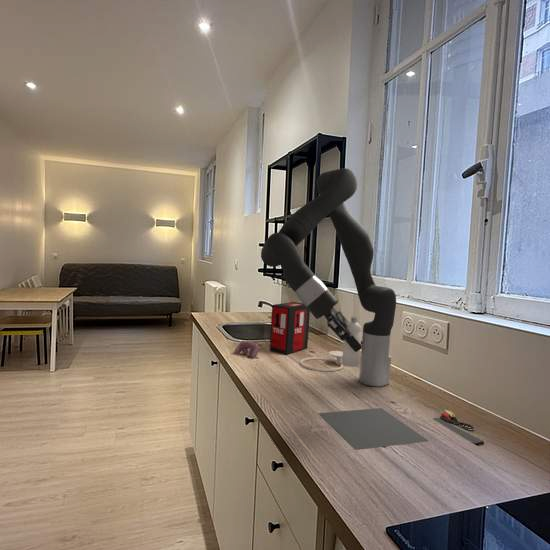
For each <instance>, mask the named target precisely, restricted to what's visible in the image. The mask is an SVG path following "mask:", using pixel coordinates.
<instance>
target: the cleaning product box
mask: <svg viewBox="0 0 550 550" xmlns="http://www.w3.org/2000/svg"><path fill="white" fill-rule="evenodd" d="M310 314H311V312H310V311H309V310H308V309H307V307H306V306H305V305H304V304H303V303H302V302H297V301H291V302H284V303H277V304H272V306H271V322H270V334H269V336H270V338H269V339H270V340H269V352H271V353H276V354H279V355H285V356H289V355H292V354H296V353H298V352H301V351H304V350H307V349H308V346H309V345H308V344H309V328H310Z"/></svg>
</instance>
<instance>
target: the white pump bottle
mask: <svg viewBox="0 0 550 550" xmlns="http://www.w3.org/2000/svg"><path fill="white" fill-rule="evenodd" d="M357 321H358V317H356V316H350V322H349V321H348V322H349V323H347V325H348V330H349V331H350V332H351V333H352V335H353V336H354V337H355V339H356V340H357V341H358V342H359V343H360V344H361V341H362V336H363V327H362V326H361V324H360V323H358V322H357ZM344 333H345V332H344ZM344 333H343V334H344ZM342 346H343V347H342V352H343V356H342V358H341V363H342V364H343V366H346V367H351V368H352V367H353V368H357V367H360V361H361V349H360V350H359V351H357V352H355V351H354V350H353V349H352V348H351V347H350V345H349V344H348V343H347V342H346V341H343V344H342Z"/></svg>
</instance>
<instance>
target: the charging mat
mask: <svg viewBox="0 0 550 550" xmlns="http://www.w3.org/2000/svg"><path fill="white" fill-rule="evenodd" d="M317 415H319V416H320V417H321V419H323V420H324V421H325V422H326V423H327V424H328V425H329V426H330V427H331V428H332V429H333V430H334V431H335V432H336V433H337V434H338V435H339V436H340V437H341V438H343V439H344V440H345V442H346V443H348V444H349V446H351V448H353V449H354V450H355V451H357V450H364V449H365V450H366V449H367V450H368V449H376V448H385V447H391V446H399V445H407V444H408V445H409V444H414V443H415V444H416V443H425V442H426V443H427V442H429V441H430V440H429V439H427V438H426V437H424V436H423V435H421V434H420V433H419V432H417V431H415V430H414V429H413V428H411V427H410V426H408V425H407V424H406V423H404V422H402V421H401V420H400V419H398V418H397V417H395V416H394V415H392V414H391V413H390V412H388V411H387V410H385V409H384V408H382V407H378V408H364V409H353V410H342V411H341V410H340V411H331V412H330V411H329V412H318V413H317Z"/></svg>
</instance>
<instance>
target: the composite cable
mask: <svg viewBox="0 0 550 550" xmlns="http://www.w3.org/2000/svg"><path fill="white" fill-rule="evenodd" d="M438 413H439V414H440V416H439V417H438V418H439V419H441V420H443V421H446V422H447V423H449V422H450V423H449V424H452V423H455V424H457V425H460V426H462V427H464V428H466V429H474V430H475V427H474V426H473V425H471V424H469V423H466V422H460V421H459V420H458V418H457V417H456V414H455V413H454V412H452V411H451V410H447V409H443V412H442V411H440V410H439V411H438ZM455 424H454V425H455ZM457 425H456V426H457ZM463 425H464V426H463ZM465 426H468V427H471V428H467V427H465ZM466 429H465V430H466Z"/></svg>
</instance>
